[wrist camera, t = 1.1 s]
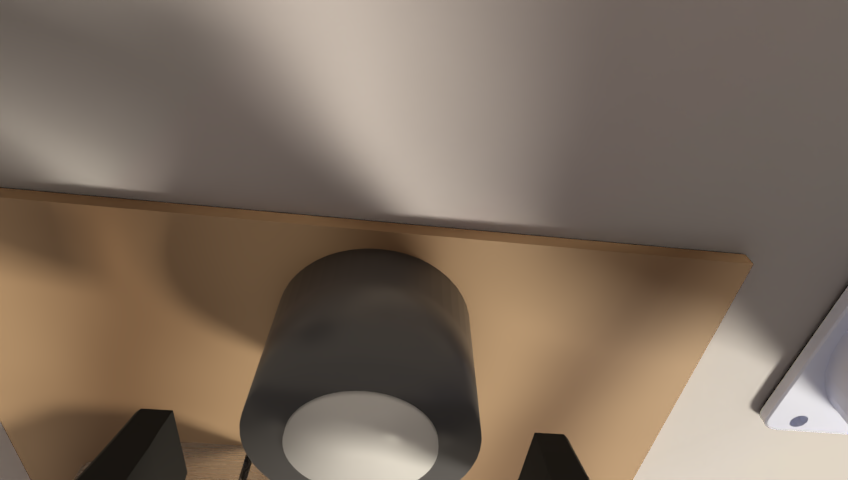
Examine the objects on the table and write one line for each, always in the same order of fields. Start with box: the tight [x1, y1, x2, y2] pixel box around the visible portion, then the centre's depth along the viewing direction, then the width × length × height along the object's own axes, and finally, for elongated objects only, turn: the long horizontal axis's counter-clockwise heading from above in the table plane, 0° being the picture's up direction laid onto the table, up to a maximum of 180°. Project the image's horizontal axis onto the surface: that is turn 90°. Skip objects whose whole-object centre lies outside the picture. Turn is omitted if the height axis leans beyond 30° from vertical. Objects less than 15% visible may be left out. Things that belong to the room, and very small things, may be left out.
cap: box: [239, 248, 482, 480], centre depth 13 cm, size 5×5×4 cm
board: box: [0, 188, 753, 480], centre depth 18 cm, size 20×20×1 cm
